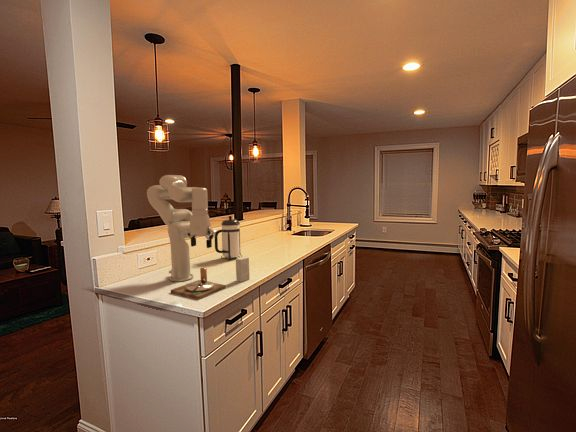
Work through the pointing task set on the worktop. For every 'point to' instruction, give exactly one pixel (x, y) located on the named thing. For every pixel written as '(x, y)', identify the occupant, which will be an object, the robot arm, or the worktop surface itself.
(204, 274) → the dial
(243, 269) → the skincare box
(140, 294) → the worktop surface
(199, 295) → the dial plate
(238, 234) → the coffee press
